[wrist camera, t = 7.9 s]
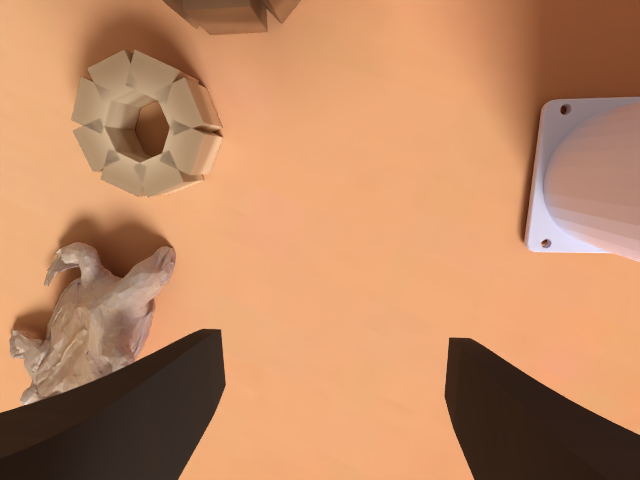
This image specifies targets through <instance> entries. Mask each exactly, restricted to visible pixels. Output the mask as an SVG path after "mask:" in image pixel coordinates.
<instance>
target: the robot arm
mask: <svg viewBox="0 0 640 480" xmlns="http://www.w3.org/2000/svg"><path fill="white" fill-rule="evenodd" d="M563 105H564V106H565V107H566V108H567V111H566V113H565V114H564V115H563V114H562V113H561V112H560V109H561V107H562V106H563ZM544 239H547V244H546V245H545V246H542V245H541V243H542V241H543V240H544ZM524 245H525V247H526V248H527V249H528V250H530V251H533V252H574V253H615V254H618V255H620V256H623V257H626V258H629V259H632V260H635V261H638V262H640V97H614V98H582V99H556V100H551V101H548V102H547V103H545V104H544V106H543V107H542V110H541V116H540V124H539V132H538V139H537V147H536V155H535V162H534V170H533V178H532V186H531V193H530V201H529V209H528V217H527V224H526V232H525V240H524ZM225 385H226V383H225V372H224V360H223V349H222V337H221V330H220V329H201V330H199V331H196V332H194V333H192V334H189V335H187V336H185V337H183V338H181V339H179V340H177V341H175V342H174V343H172V344H170V345H168V346H166V347H164V348H162V349H160V350H158V351H156V352H154V353H152V354H150V355H148V356H146V357H144V358H142V359H140V360H138V361H136V362H134V363H132V364H129V365H127V366H125V367H123V368H121V369H119V370H117V371H115V372H113V373H110V374H108V375H106V376H104V377H101V378H99V379H96V380H94V381H92V382H89V383H87V384H84V385H81V386H79V387H76V388H74V389H71V390H69V391H66V392H63V393H60V394H58V395H54V396H51V397H48V398H45V399H42V400H39V401H36V402H33V403H30V404H27V405H24V406H21V407H18V408H15V409H12V410H9V411H5V412H2V413H0V480H178V479H179V477H180V475H181V473H182V471H183V470H184V468H185V466H186V464H187V462H188V461H189V459H190V457H191V455H192V454H193V452H194V450H195V448H196V446H197V445H198V443H199V441H200V439H201V437H202V436H203V434H204V432H205V430H206V428H207V427H208V425H209V423H210V421H211V419H212V417H213V415H214V413H215V411H216V408H217V406H218V404H219V401H220V399H221V396H222V393H223V391H224V388H225ZM445 400H446V404H447V407H448V411H449V415H450V418H451V422H452V425H453V429H454V431H455V434H456V436H457V439H458V441H459V444H460V446H461V448H462V451H463V453H464V456H465V458H466V460H467V463H468V465H469V468H470V470H471V472H472V475H473V477H474V480H640V435H639V434H636V433H634V432H632V431H630V430H628V429H626V428H624V427H621V426H619V425H617V424H615V423H613V422H611V421H609V420H607V419H605V418H603V417H601V416H599V415H597V414H595V413H593V412H592V411H590V410H588V409H586V408H584V407H582V406H580V405H578V404H576V403H574V402H573V401H571V400H569V399H567V398H565V397H564V396H562V395H560V394H559V393H557V392H555V391H553V390H552V389H550V388H548V387H547V386H545V385H543V384H542V383H540V382H538V381H537V380H535V379H533V378H532V377H530V376H529V375H527V374H525V373H524V372H522V371H521V370H519V369H518V368H516V367H515V366H513V365H512V364H510V363H509V362H507V361H506V360H504V359H502V358H501V357H499V356H498V355H496V354H495V353H493V352H492V351H490V350H489V349H487V348H486V347H484V346H483V345H481V344H480V343H478V342H476V341H474V340H473V339H471V338H449V348H448V361H447V373H446V385H445Z"/></svg>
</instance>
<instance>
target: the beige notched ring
mask: <svg viewBox="0 0 640 480" xmlns="http://www.w3.org/2000/svg"><path fill="white" fill-rule="evenodd" d="M87 69H88V71H89V74H90V76H91V78H92V80H90V79H87V78H83V77H81V79H80V83H79V88H78V92H77V97H76V101H75V105H74V110H73V114H72V119H71V120H72V121H74V122H77V123H79V124H81V125H83V126H82V127H80V128H78V129H76V130H73V133H74V135H75V137H76V139H77V141H78V143H79V145H80V147H81V149H82V151H83V153H84V155H85V157H86V159H87V161H88V163H89V165H90V167H91V169H92V171H93V172H102V171H103V172H102V175H101V180H103V181H105V182H107V183H110V184H112V185H114V186H116V187H118V188H120V189H122V190H125V191H127V192H129V193H131V194H133V195H135V196H138V197H141V196H148V197H153V196H159V195H165V194H171V193H174V192H177V191H179V190H182V189H184V188H186V187H189V186H191V185H194V184H196V183H199V182H201V181H204V178H203V176H202V174H210V173H211V171H212V168H213V165H214V162H215V159H216V156H217V153H218V151H219V148H220V145H221V142H222V139H223V137H221V136H219V135H217V134H214V133H212V132H214V131H216V130H219V129H221V128H223V127H222V125H221V122H220V120H219V117H218V115H217V113H216V110H215V108H214V105H213V103H212V101H211V98H210V96H209V93H208V91H207V88H205V87H203V86H201V85H199V80H197V79H195V78H193V77H191V76H189V75H187V74H185V73H184V72H182V71H180V70H178V69H176V68H174V67H172V66H169V65H167V64H165V63H163V62H161V61H159V60H156V59H154V58H152V57H150V56H148V55H146V54H144V53H141V52H139V51H137V50H134V54H133V53H131V52H129V51H127V50H122V51H120V52H118V53H116V54H114V55H112V56H110V57H108V58H106V59H104V60H103V61H101V62H99V63H97V64H95V65H93V66H91V67H89V68H87ZM156 100H158V102H159V104H160V106H161V108H162V111H163V113H164V115H165V117H166V120H167V122H168V124H169V126H170V129H169V132H168V136H167V139H166V142H165V145H164V149H163V152H162V153H161V154H159V155H157V156H155V157H152V156H150V155H148V154H146V153H145V152H144V150H143V148H142V146H141V144H140V141H139V139H138V137H137V135H136V133H135V127H136V123H137V120H138V116H139V113H140V109H141V107H144V106H146V105H148V104H150V103H152V102H154V101H156Z"/></svg>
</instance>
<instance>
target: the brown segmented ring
mask: <svg viewBox="0 0 640 480" xmlns="http://www.w3.org/2000/svg"><path fill="white" fill-rule="evenodd" d="M163 1H164V2H165V3H166V4H167V5H168V6H169V7H171V8H172V9H173V10H174V11H175V12H177V13H178V14H179V15H180V16H181V17H183V18H184V19H185V20H186V21H187V22H189V23H190V24H191V25H192V26H193V27H194V28H196V29H197V27H198V26H199V25H200V26H201V27H202V28H203V29H205V30H206V31H207V32H208V33H209V34H210V35H218V34H235V33H253V32H267V12H266V8H267V9H268V10H269V11H270V12H271V13H272V14H273V15H274V16H275V17H276V19H277V20H278V21H279V22H280V23H281V24H282V23H283V22H284V20H285V19H286V18H287V17H288V15H289V14H290V13H291V12H292V10H293V9H294V8H295V7H296V5H297V4H298V3H299V2H300V0H163Z"/></svg>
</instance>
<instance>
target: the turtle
mask: <svg viewBox="0 0 640 480" xmlns="http://www.w3.org/2000/svg"><path fill="white" fill-rule="evenodd" d="M56 253H58V256H57V258H56V259H55V260H54V261H53V262H52V264H51V266H50V268H49V269H48V270H47V271H48V273H47V275H46V279H45V283H44V285H45V286H47V284H48V286H49V284H50V283H51V280H52V278H54V277H55V275H56V273H57V272H62V271H64V270H67V269H70V268H74V267H77V268H79V267H80V270H81V277H79V278H77V279H75V280H73V281H72V282H71V283H70V284H69V285H68V286H67V287H66V289H65V290H64V291H63V292H62V294H61V295H60V297H59V300H58V302H57V304H56V306H55V308H54V309H53V314H52V316H51V318H50V320H49V323H48V325H47V328H48V330H47V334H46V338H45V341H43V340H41V339H35V338H33V337H31V336H30V335H29V334H27V333H24V332H22V331H20V330H12V336H11V338H10V354H11V357H13V358H21V359H25V360H24V363H25V368H26V370H27V372H28V374H29V375H30V377H31V378H32V384H31V386H30V387H29V388H27V389H26V390H25V391H24V392H23V394H22V397H21V399H20V400H21V403H23V405H27V404H30V403H33V402H36V401H39V400H42V399H45V398H48V397H51V396H54V395H58V394H60V393H63V392H66V391H69V390H71V389H74V388H76V387H79V386H81V385H84V384H87V383H89V382H92V381H94V380H96V379H99V378H101V377H104V376H106V375H108V374H110V373H113V372H115V371H117V370H119V369H121V368H123V367H125V366H127V365H129V364H132V363H134V362H135V360H136V358H137V357H138V355H139V354H140V352H141V351H142V349H143V346H144V344H145V342H146V339H147V337H148V334H149V330H150V327H151V325H152V318H153V312H154V310H155V302H154V299H153V298H154V297H155V296H156V295H158V293H159V292H160V291H161V290H162V288H163V287H164V286H165V284H166V283H167V282H168V281H169V279H170V277H171V275H172V272H173V269H174V265H175V259H176V254H175V251H174V249H173V248H169V247H168V246H161V247H160V248H159V249H158V250H157V251H156V252H155V253H154V254H153V255H152V256H150V257H148V258H147V259H145V260H143V261H141V262H139V263H137V264H136V265H135V266H133V268H132V269H131V270H130V272H129V273H128V274H127V275H126V276H125V277H124V278H120V277H117V276H115V275H113V274H112V273H111V272H110V271H109V270H107V269H105V268H104V267H103V266H102V265H101V262H100V259H99V256H98V253H97V251H96V249H95V248H93V247H92V246H90V245H87V244H84V243H80V242H74V243H72V244H70V245H67V246H65V247H62V248H61V249H59V250H58V251H57V252H56Z"/></svg>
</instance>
